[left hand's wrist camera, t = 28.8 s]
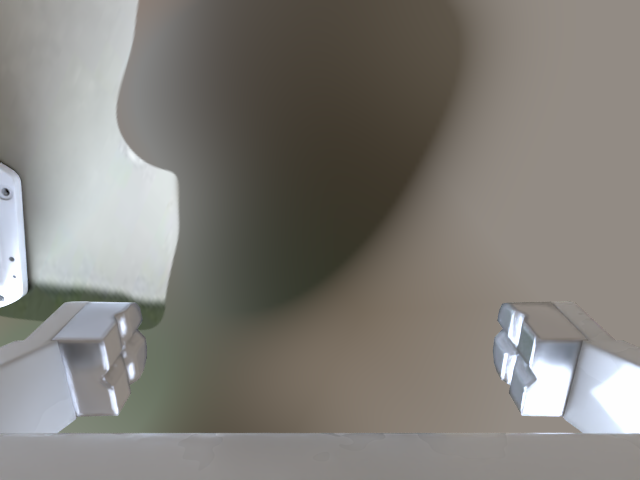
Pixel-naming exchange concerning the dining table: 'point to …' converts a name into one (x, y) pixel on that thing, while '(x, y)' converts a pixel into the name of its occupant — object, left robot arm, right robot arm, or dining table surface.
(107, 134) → the dining table surface
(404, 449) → the left robot arm
